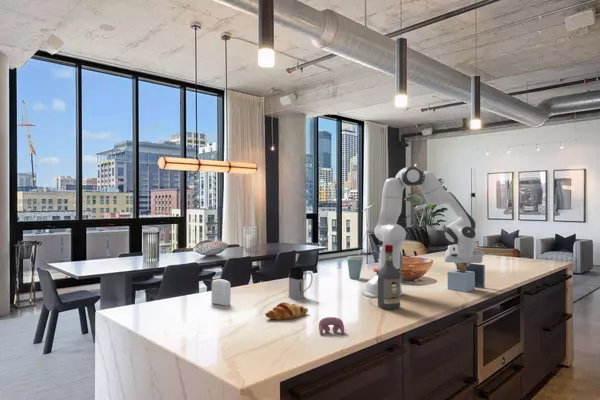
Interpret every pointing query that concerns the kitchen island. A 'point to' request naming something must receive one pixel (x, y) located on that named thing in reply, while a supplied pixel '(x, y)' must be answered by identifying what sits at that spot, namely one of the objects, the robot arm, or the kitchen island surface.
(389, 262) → the liquor
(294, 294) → the grey mug
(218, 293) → the gravestone
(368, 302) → the kitchen island surface
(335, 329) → the video game controller
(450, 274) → the socket block
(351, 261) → the disposable coffee cup
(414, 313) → the kitchen island surface
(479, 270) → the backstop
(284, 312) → the croissant
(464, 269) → the dowel
